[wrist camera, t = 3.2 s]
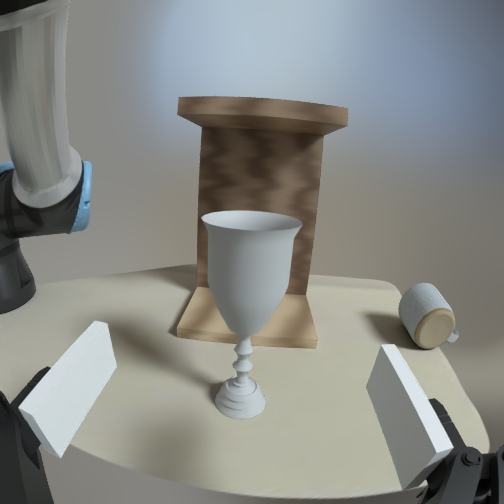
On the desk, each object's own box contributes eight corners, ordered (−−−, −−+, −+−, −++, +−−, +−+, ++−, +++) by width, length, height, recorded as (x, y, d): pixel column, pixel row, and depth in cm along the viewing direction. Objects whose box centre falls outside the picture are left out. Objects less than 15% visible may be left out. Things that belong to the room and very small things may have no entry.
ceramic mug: (408, 353, 34) (426, 304, 32) (392, 323, 42) (405, 279, 39) (463, 351, 33) (481, 307, 31) (443, 325, 41) (457, 284, 38)
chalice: (258, 372, 31) (274, 210, 25) (289, 412, 25) (322, 228, 19) (195, 386, 28) (191, 211, 22) (217, 434, 22) (219, 233, 16)
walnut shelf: (177, 337, 36) (178, 97, 27) (198, 291, 49) (204, 115, 40) (315, 348, 36) (348, 108, 27) (303, 299, 49) (322, 123, 40)
